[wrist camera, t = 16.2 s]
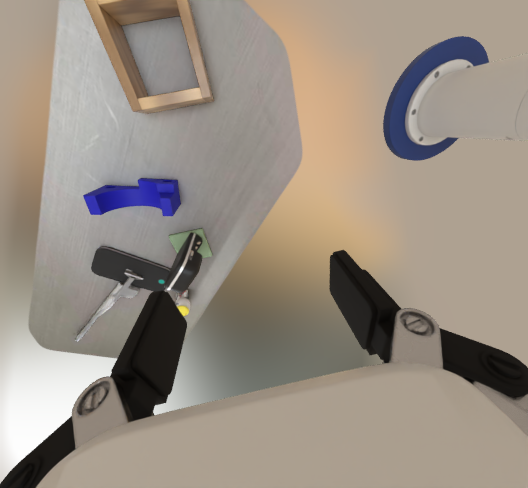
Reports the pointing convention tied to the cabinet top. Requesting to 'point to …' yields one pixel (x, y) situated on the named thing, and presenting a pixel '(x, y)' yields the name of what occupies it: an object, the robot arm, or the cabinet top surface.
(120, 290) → the caliper
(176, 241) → the mat
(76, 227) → the cabinet top surface
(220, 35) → the cabinet top surface
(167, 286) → the black zipper case
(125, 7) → the holder
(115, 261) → the smartphone
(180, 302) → the toy figures
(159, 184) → the cable clip
